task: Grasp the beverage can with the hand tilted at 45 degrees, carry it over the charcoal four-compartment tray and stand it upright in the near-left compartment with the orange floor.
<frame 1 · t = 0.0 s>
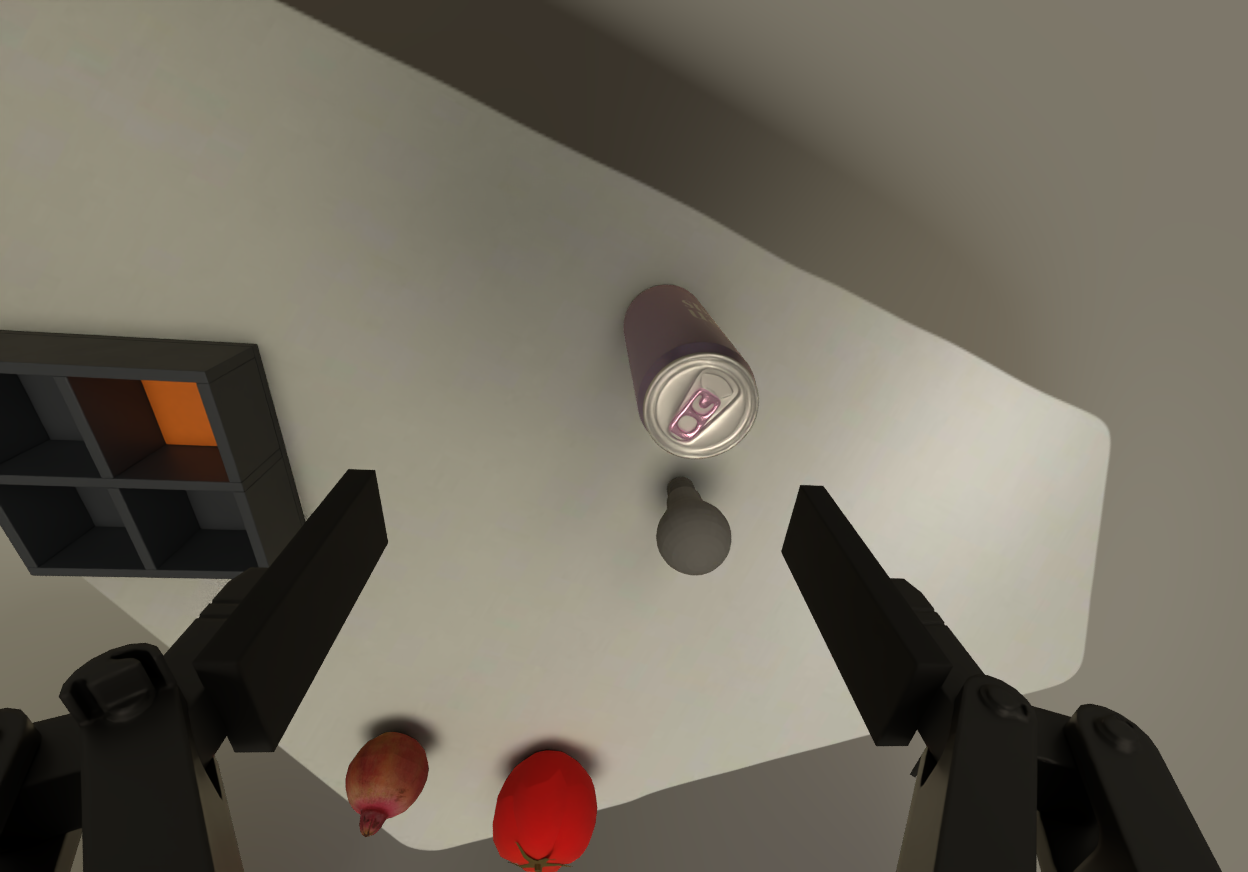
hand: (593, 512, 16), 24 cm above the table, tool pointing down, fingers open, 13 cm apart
tray: (169, 444, 40), on the table
tomato: (548, 761, 63), on the table
beverage can: (662, 323, 38), on the table
fruit: (402, 733, 59), on the table
light bulb: (678, 482, 44), on the table
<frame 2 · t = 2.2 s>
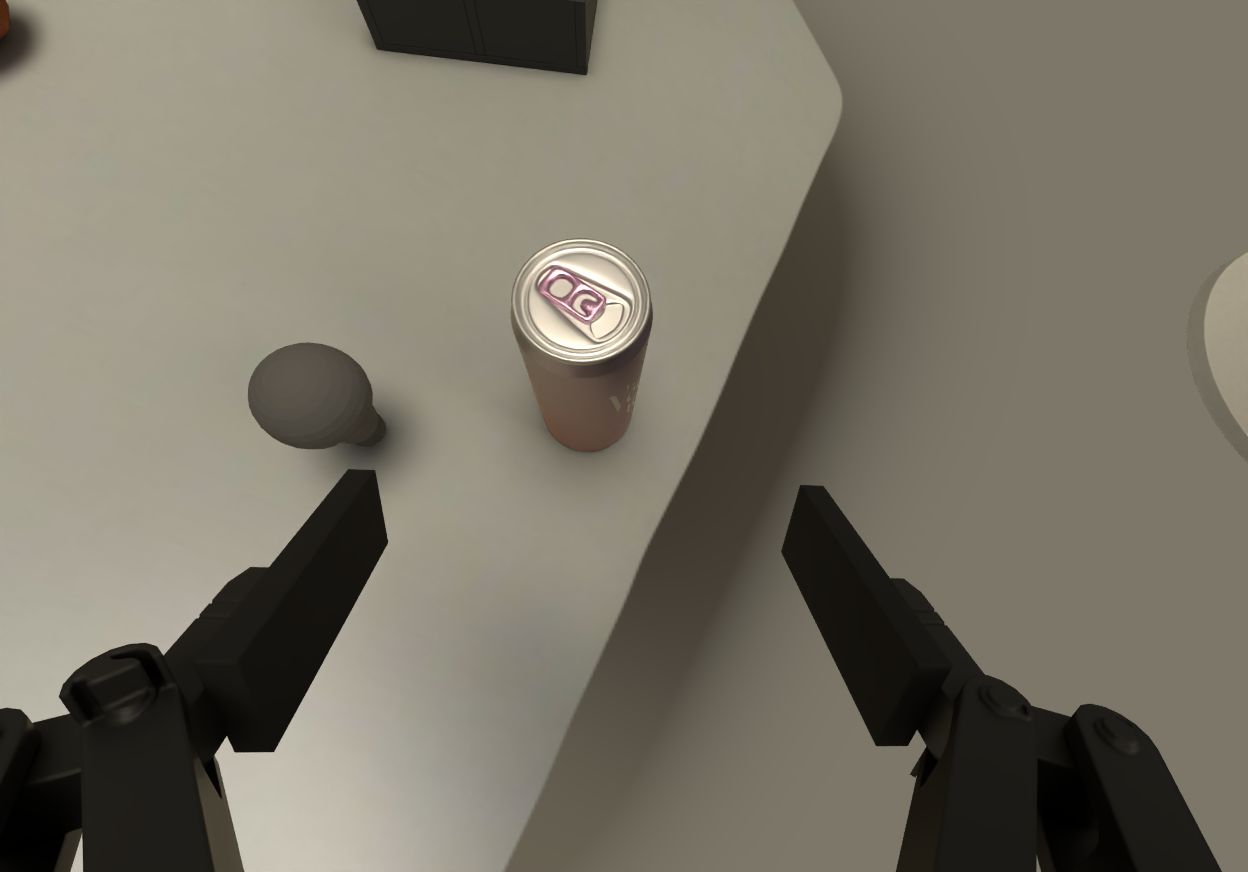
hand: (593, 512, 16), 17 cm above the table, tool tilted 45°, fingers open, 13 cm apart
beverage can: (587, 412, 35), on the table
light bulb: (373, 433, 34), on the table
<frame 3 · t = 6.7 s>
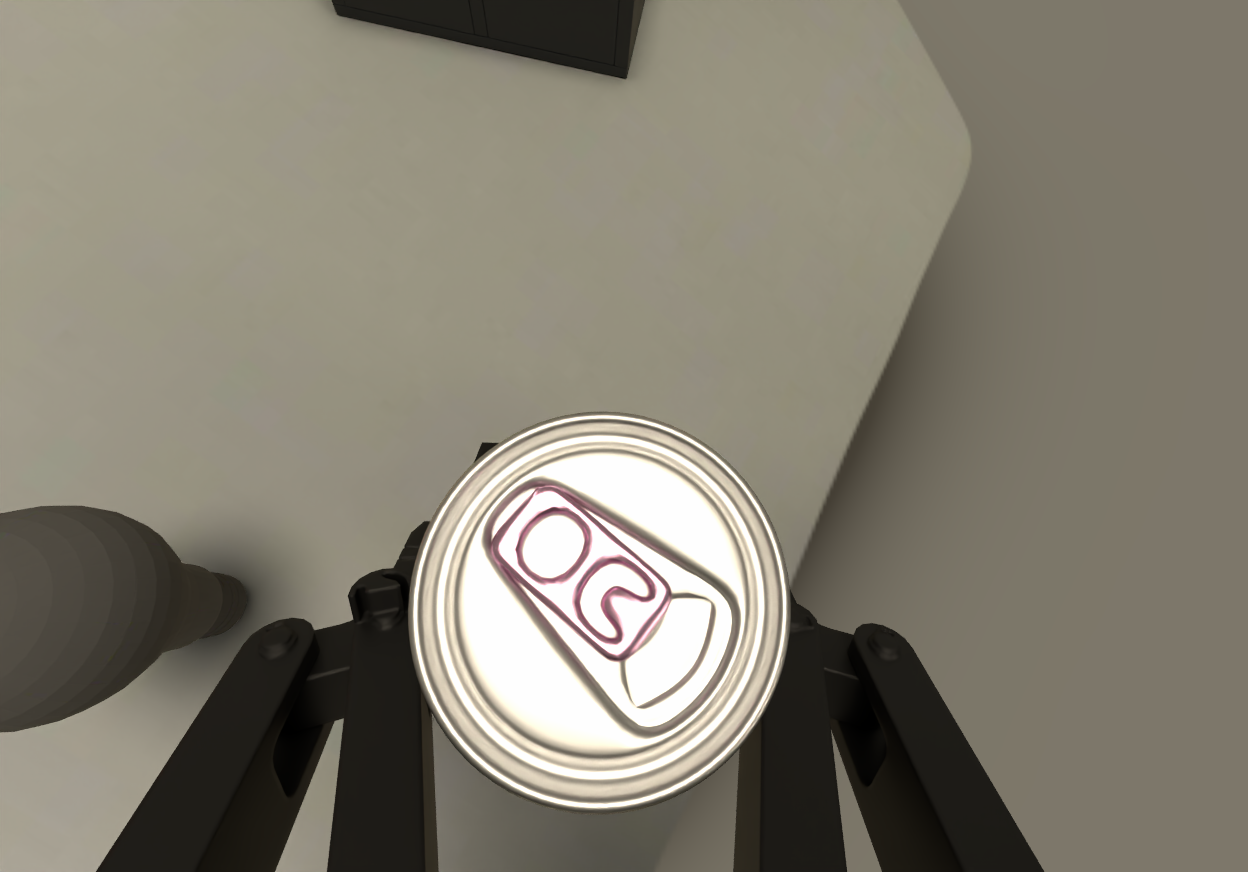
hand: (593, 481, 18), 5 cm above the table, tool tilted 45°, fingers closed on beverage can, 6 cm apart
beverage can: (586, 590, 22), on the table, touching gripper
light bulb: (230, 604, 20), on the table
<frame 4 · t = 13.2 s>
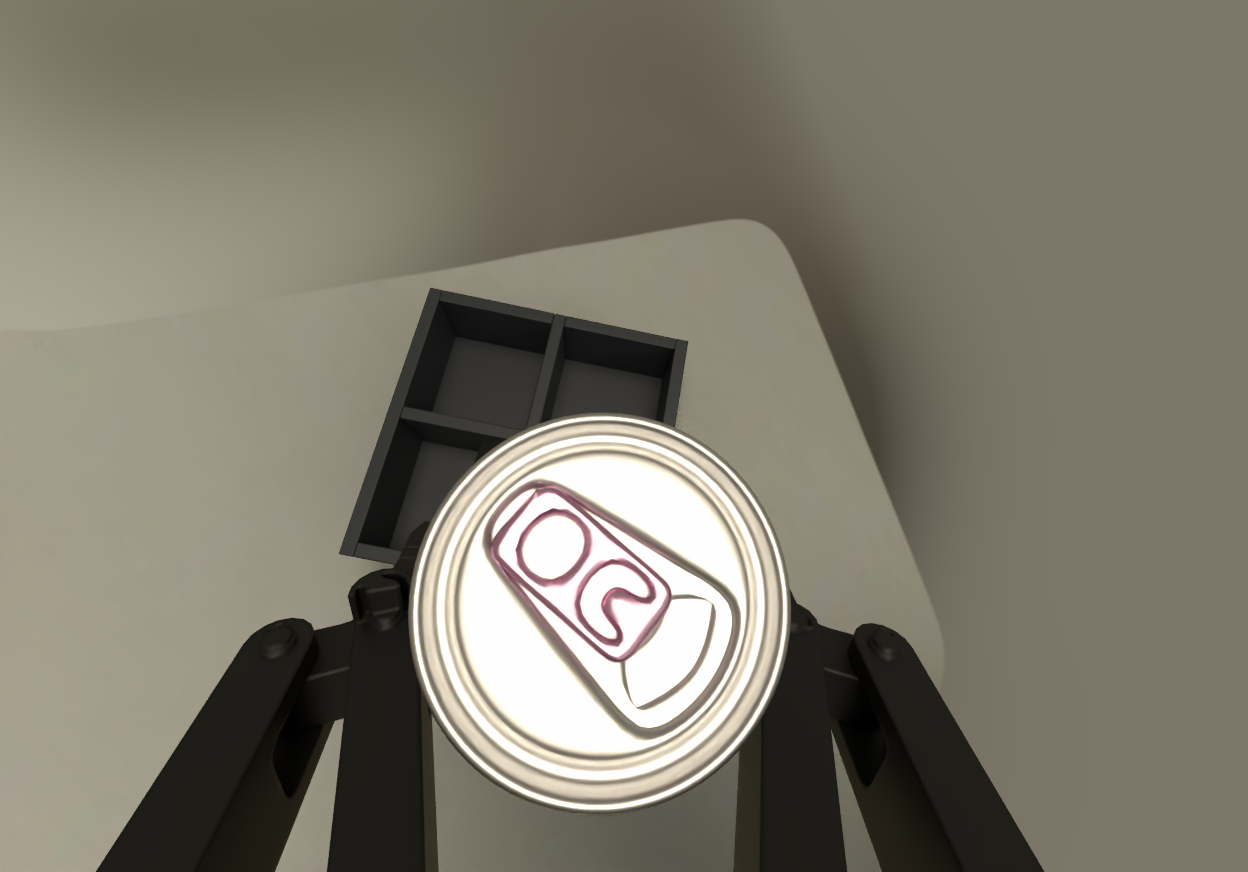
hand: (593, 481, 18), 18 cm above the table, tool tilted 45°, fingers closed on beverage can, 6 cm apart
tray: (536, 459, 36), on the table
beverage can: (585, 590, 22), point 13 cm above the table, touching gripper
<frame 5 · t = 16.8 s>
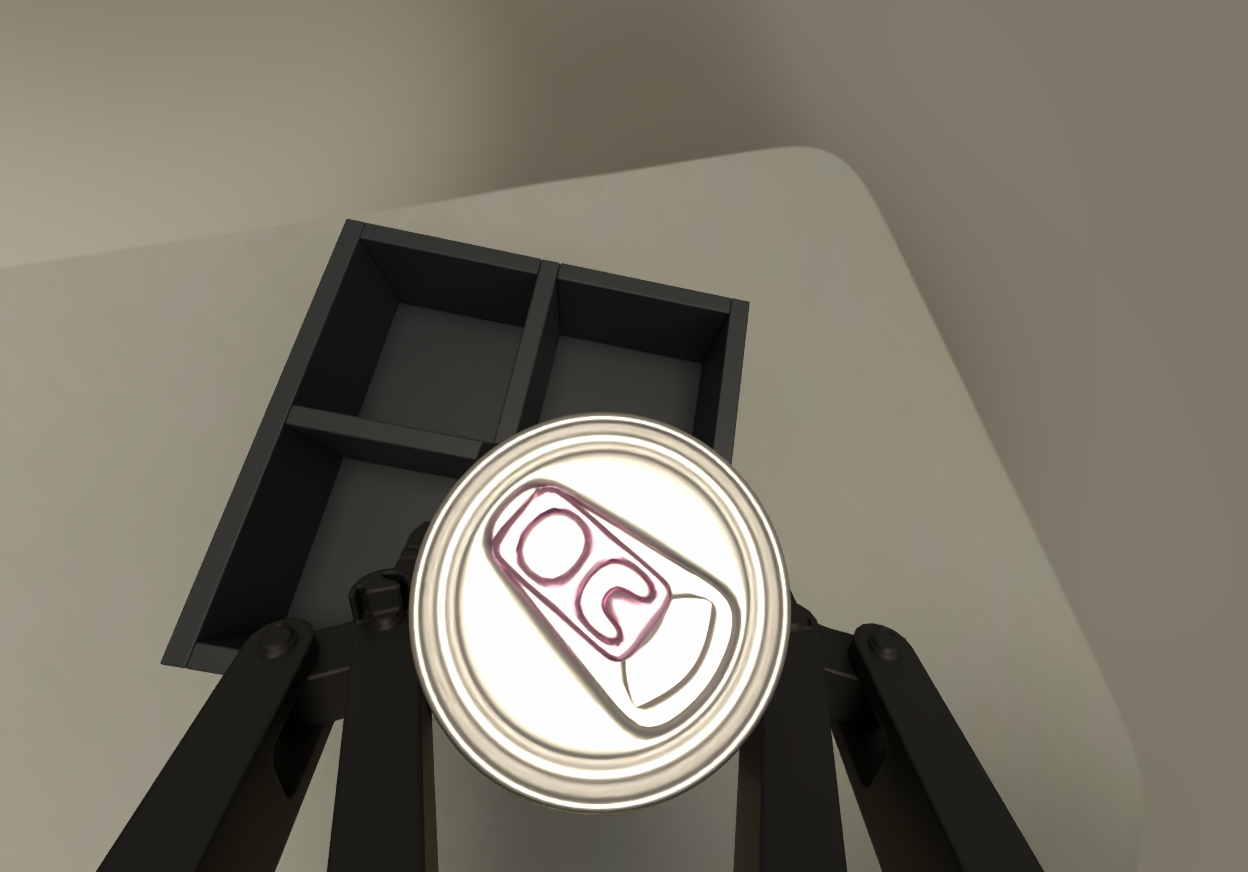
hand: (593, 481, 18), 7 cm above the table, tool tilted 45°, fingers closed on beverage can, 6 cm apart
tray: (517, 484, 24), on the table
beverage can: (585, 590, 22), point 1 cm above the table, touching gripper
when the fingers open (7 cm above the table, at t = 19.9 s): beverage can drops 1 cm, resting on tray.
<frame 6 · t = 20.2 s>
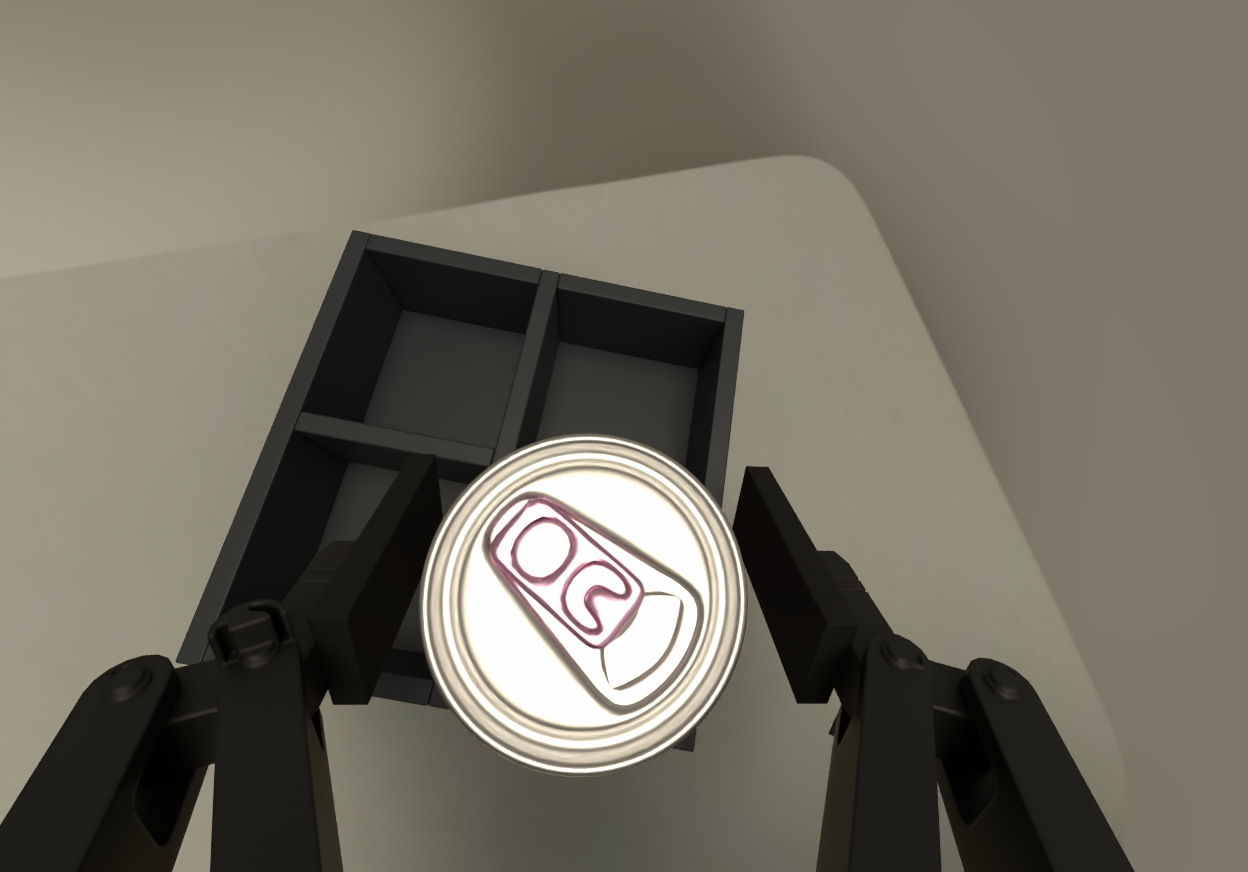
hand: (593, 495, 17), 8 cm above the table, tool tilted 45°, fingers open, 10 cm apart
tray: (518, 487, 25), on the table
beverage can: (583, 592, 23), point 1 cm above the table, touching tray
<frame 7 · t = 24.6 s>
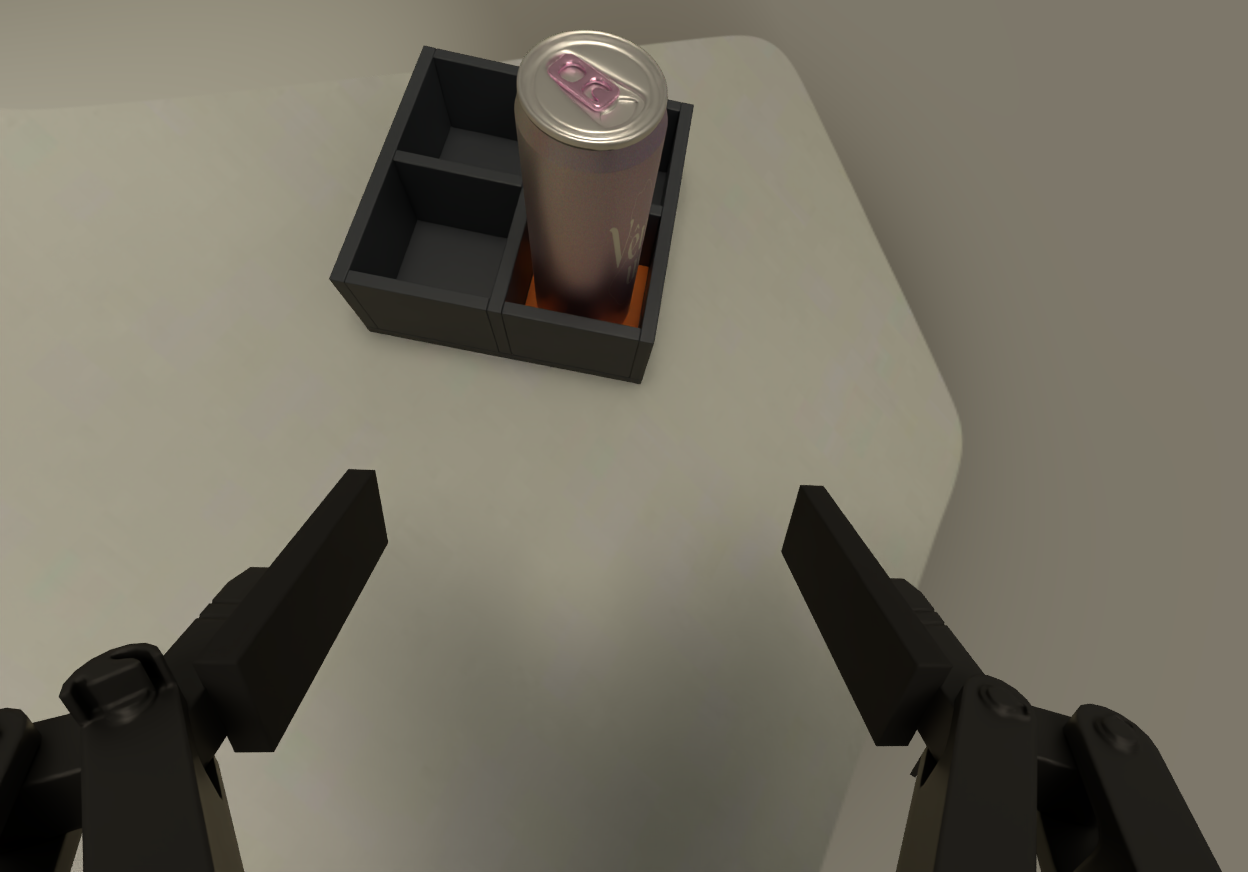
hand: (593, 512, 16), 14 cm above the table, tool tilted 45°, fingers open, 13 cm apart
tray: (536, 245, 35), on the table
beverage can: (583, 305, 33), point 1 cm above the table, touching tray
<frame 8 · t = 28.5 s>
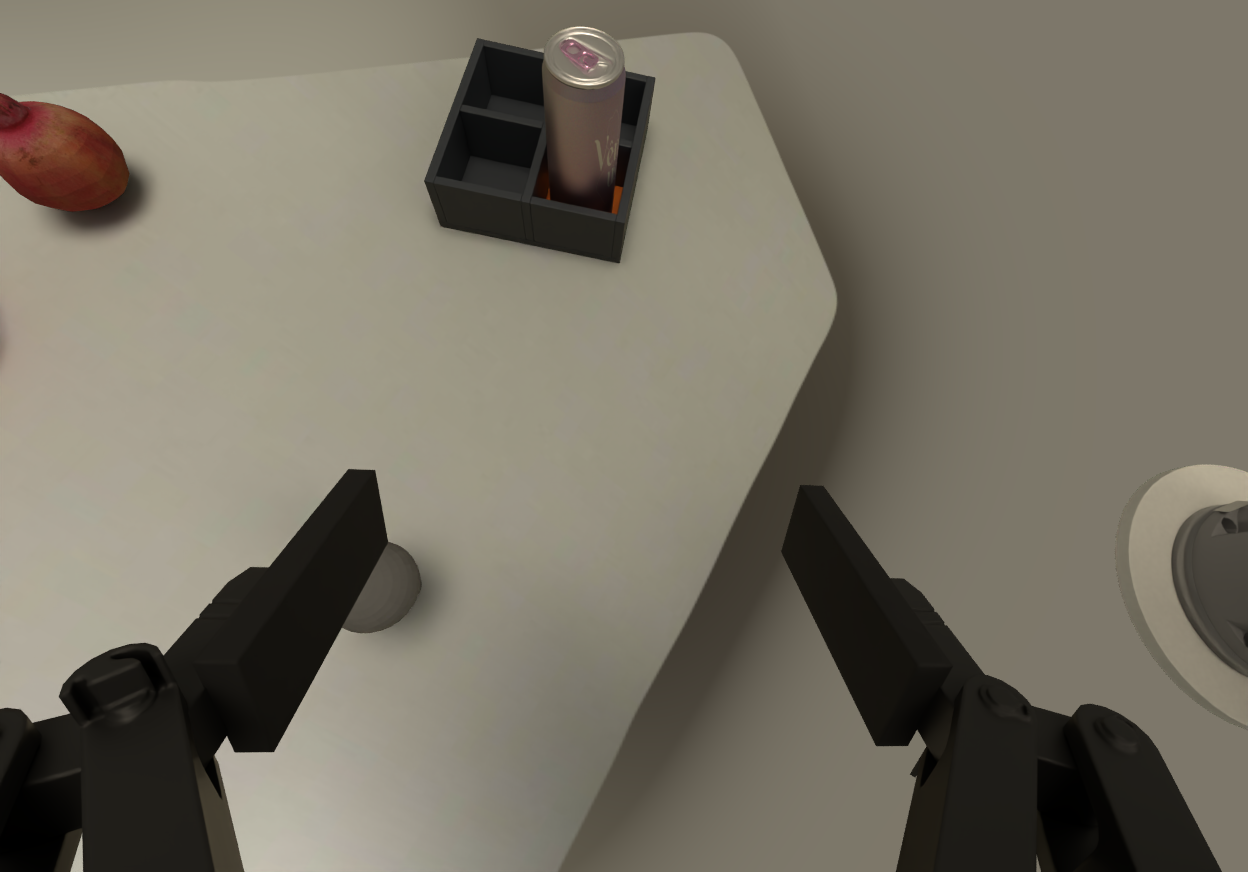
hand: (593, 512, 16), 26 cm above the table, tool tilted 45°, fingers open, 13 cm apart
tray: (550, 174, 51), on the table
beverage can: (581, 212, 49), point 1 cm above the table, touching tray
fruit: (108, 199, 46), on the table
light bulb: (409, 586, 39), on the table
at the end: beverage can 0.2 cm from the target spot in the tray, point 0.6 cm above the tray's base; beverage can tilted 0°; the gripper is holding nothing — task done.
